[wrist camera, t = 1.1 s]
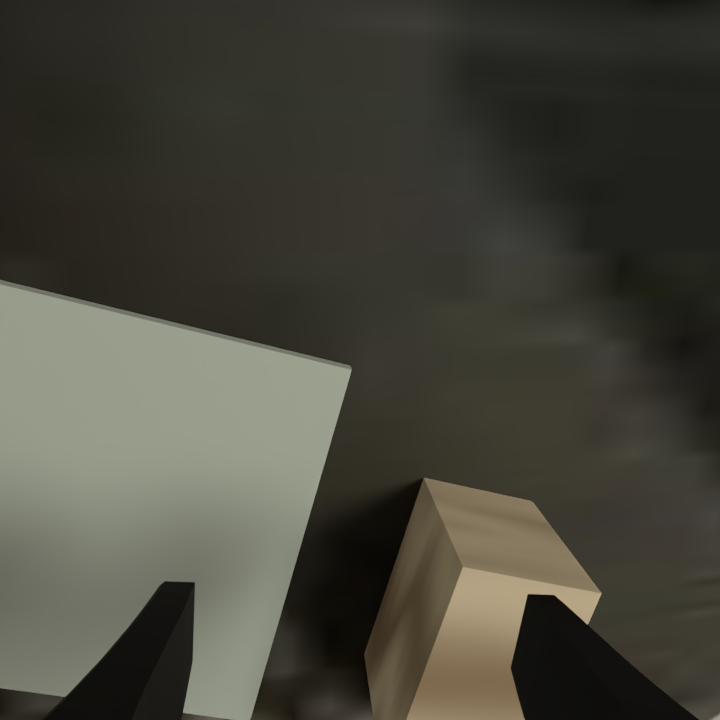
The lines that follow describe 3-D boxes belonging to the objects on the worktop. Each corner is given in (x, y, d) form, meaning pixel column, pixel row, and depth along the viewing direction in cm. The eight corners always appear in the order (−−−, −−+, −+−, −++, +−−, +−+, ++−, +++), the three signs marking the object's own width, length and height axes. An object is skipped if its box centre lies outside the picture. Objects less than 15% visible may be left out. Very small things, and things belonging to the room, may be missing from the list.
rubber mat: (250, 711, 24) (249, 721, 23) (-131, 658, 22) (-140, 669, 21) (350, 365, 20) (351, 369, 20) (-94, 257, 18) (-104, 258, 17)
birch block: (465, 668, 25) (510, 798, 19) (363, 652, 24) (382, 783, 19) (531, 499, 23) (601, 593, 17) (423, 476, 22) (462, 566, 17)
